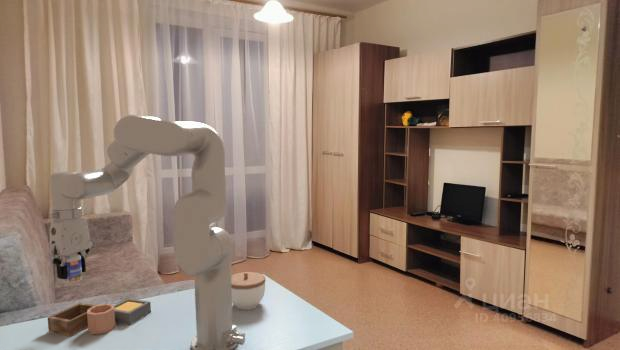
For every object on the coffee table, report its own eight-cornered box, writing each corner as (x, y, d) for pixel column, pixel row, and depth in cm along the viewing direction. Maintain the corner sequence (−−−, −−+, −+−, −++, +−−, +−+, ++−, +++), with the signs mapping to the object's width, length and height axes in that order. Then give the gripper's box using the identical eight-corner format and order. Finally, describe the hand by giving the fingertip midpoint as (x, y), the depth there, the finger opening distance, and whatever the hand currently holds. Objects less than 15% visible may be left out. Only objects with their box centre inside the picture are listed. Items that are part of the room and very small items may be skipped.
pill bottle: (73, 284, 119) (70, 251, 118) (56, 283, 120) (54, 250, 119) (86, 278, 124) (84, 246, 123) (71, 277, 125) (68, 245, 124)
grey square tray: (150, 312, 132) (150, 301, 132) (129, 324, 124) (129, 313, 123) (128, 308, 135) (127, 298, 135) (106, 320, 127) (105, 309, 126)
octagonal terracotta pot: (120, 325, 124) (119, 305, 123) (101, 336, 117) (100, 315, 116) (102, 321, 126) (101, 302, 125) (83, 332, 119) (81, 312, 119)
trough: (102, 319, 127) (101, 306, 127) (70, 336, 117) (69, 321, 117) (81, 315, 130) (80, 302, 130) (48, 331, 120) (47, 317, 120)
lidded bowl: (232, 297, 143) (231, 266, 142) (268, 297, 143) (267, 266, 142) (223, 313, 131) (221, 279, 130) (262, 313, 130) (262, 279, 129)
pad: (144, 306, 131) (144, 303, 131) (129, 315, 125) (129, 312, 125) (128, 304, 133) (128, 301, 133) (112, 312, 127) (112, 309, 127)
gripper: (49, 221, 111) (54, 286, 113) (101, 209, 127) (105, 267, 129) (29, 219, 113) (35, 283, 115) (83, 208, 129) (86, 264, 131)
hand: (72, 274), depth 122 cm, fingers closed on pill bottle, 5 cm apart
